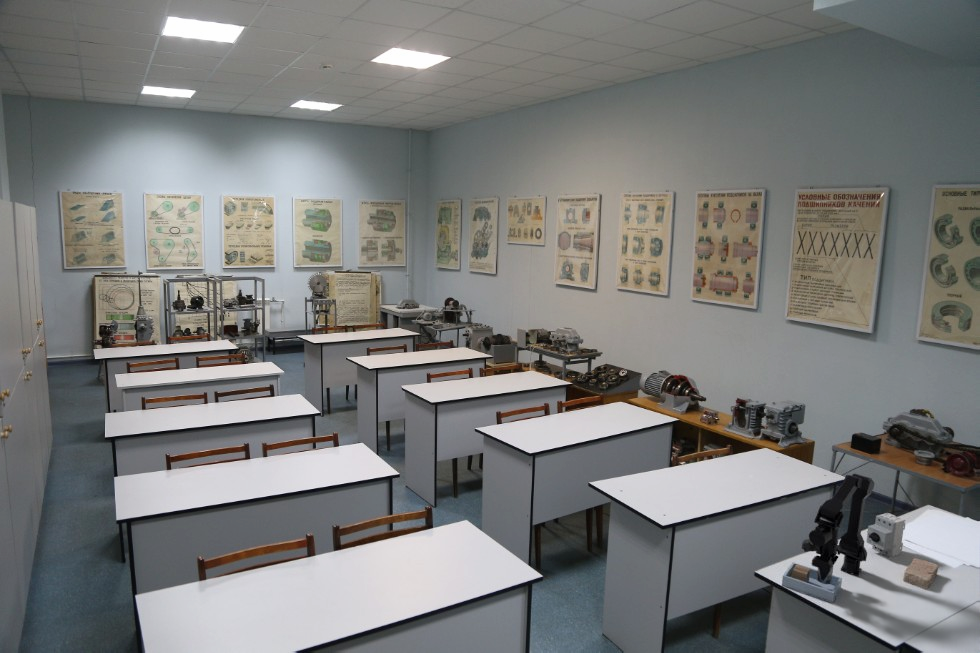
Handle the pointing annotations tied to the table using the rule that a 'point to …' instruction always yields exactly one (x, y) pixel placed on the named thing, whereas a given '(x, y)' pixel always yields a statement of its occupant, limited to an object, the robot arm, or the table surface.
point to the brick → (920, 573)
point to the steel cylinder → (827, 580)
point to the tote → (812, 584)
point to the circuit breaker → (886, 534)
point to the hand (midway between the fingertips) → (824, 576)
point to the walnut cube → (801, 573)
